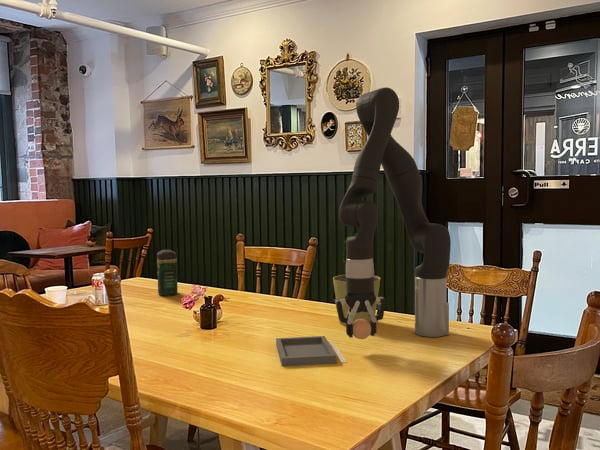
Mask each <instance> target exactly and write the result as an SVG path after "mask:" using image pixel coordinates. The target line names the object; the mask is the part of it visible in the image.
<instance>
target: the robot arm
mask: <svg viewBox="0 0 600 450" xmlns="http://www.w3.org/2000/svg"><path fill="white" fill-rule="evenodd" d="M355 110H356V114H357V117H358V119H359V122H360V123H361V125H362V127H363V129H364V132H365V134H366V135H367V140H366V142H365V143H364V145H363V146H362V148H361V149H360V151H359V153H358V155H357V158H356V160H355V162H354V167H353V172H352V177H351V181H350V184H349V187H348V188H347V190H346V193H345V195H344V197H343V198H342V200H341V203H340V205H339V209H338V218H339V221H340V223H341V224H342V225H343V226H344V227H349V228H351V227H352V228H360V229H359V232H358V235H355V236H351V237H349V238H347V237H346V239H347V241H346V262H345V263H346V266H345V275H346V297H345V299H341V300H338V299H337V300H336V299H335V301H334V304H335V307H336V308H335V309H336V312H337V316H338V321H339V320H340V321H341V322H342V323H343V322H344V323H346V326H345V332H346V335H347V336H348V337H349V338H353V337H354V336H353V330H352V324H351V323H352V320H353V318H354V316H355V314H356V313H359V312H367V313H368V315H369V318H370V320H371V321H370V325H371V333H370V335H369V336H371V337H374V336H375V334H377V322H379V321H382V320H383V319H384V314H385V308H386V302H387V299H386V298H385V297H383V296H378V297H376V296H375V294H374V276H375V267H374V260H373V242H374V238H375V237H374V236H375V234H376V228H377V226H378V221H379V210H378V207H377V205H376V203H374V202H373V201H372V200H371V201H370V200H363V199H364V198H365V197H368V196H371V195H373V194H375V193H376V191H377V186H378V183H379V182H378V181H379V176H380V170H381V167H382V169H383V172H384V176H385V177H386V179H387V182H388V185H389V187H390V189H391V191H392V194H393V195H394V199H395V201H396V203H397V206H398V208H399V211H400V213H401V216H402V219H403V222H404V227H405V229H406V232H407V233H406V234H407V235H408V241H409V242H410V245H411V246H412V248H413V249H415V251H417V252H419V253H421V254H423V259H422V260H423V262H422V263H421V264H420V265H418V266H416V267H415V269H414V333H415V334H416V335H418V336H422V337H427V338H428V337H429V338H438V337H444V336H446V335H447V336H448V335H450V331H449V330H450V303H449V302H447V289H448V288H447V281H448V279H447V275H448V274H447V273H448V271H449V269H450V263H451V262H450V261H451V246H452V245H451V242H452V241H451V240H452V239H451V235H450V230H449V229H448V228H447V226H445V225H443V224H441V223H431V222H430V221H429V219H428V217H427V216H426V213H425V210H424V207H423V202H422V197H423V196H422V195H423V194H422V193H423V181H422V176H421V173H420V171H419V168H418V166H417V163H416V161H415V158H414V157H413V156H412V155H411V154H410V153H409V151H407V150H406V149H405V148H404V147H403V146H402V145H401V144H400V143H398V141H397V140H396V139H395V138H394V137H393V136H392V135H391V134H392V131H393V130H394V129H393V128H394V125H395V123H396V121H397V118H398V114H399V111H400V99H399V96H398V93H397V92H396V91H395V90H394V89H392V88H390V87H381V88H377V89H375V90H372V91H369V92H368V91H367V92H365V93H363V94H362V95H360V96H358V98H357V100H356V104H355ZM375 301H377V308H376V314H375V315H374V312H373V310H372V308H371V307H372V305H373V304H374V302H375ZM345 303H347V304H348V306H349V310H348V314H347V316H346V317H344V313H343V309H342V308H343V307H344V304H345Z"/></svg>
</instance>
